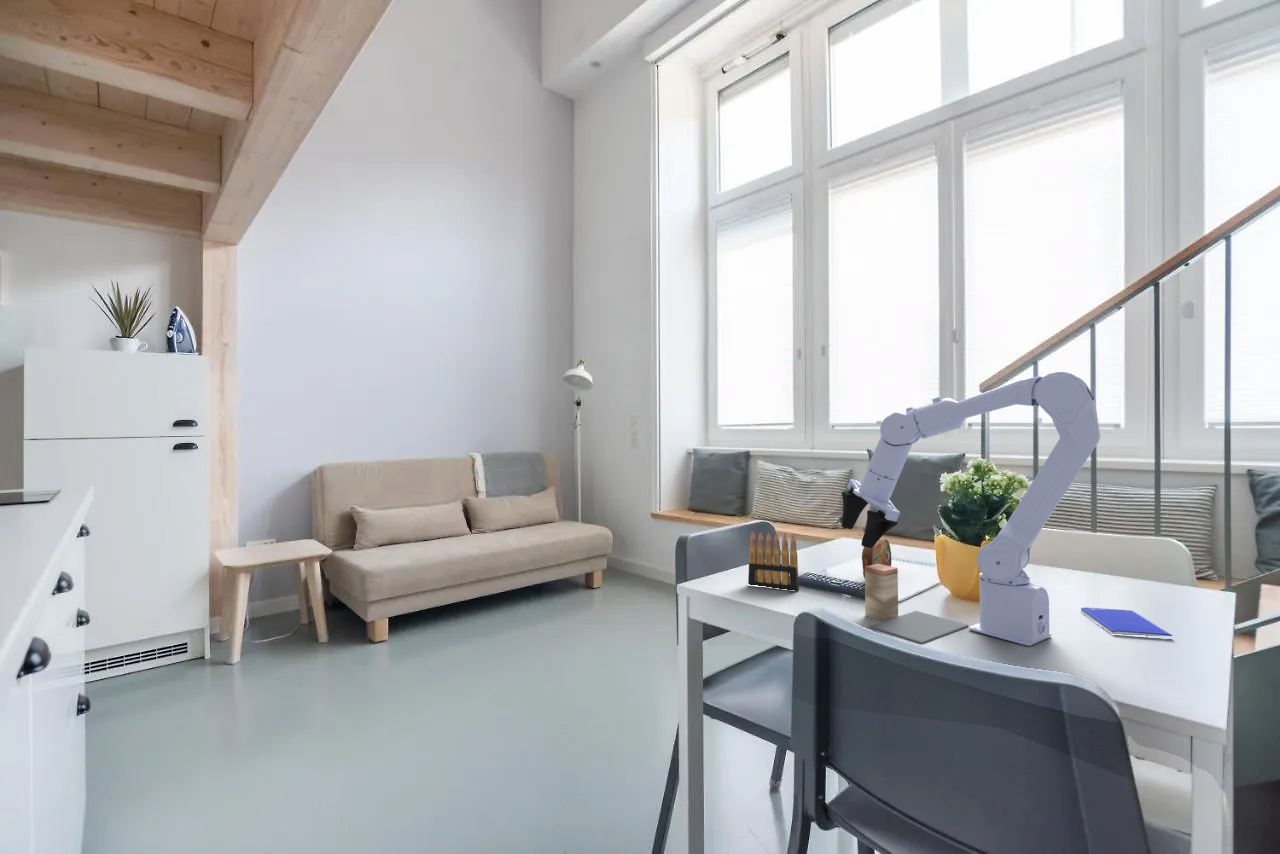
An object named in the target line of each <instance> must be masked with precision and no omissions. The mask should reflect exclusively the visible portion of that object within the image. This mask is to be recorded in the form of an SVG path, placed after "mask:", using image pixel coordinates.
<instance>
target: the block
mask: <svg viewBox="0 0 1280 854" xmlns="http://www.w3.org/2000/svg"><path fill="white" fill-rule="evenodd" d="M898 575H899V571H898V567H895V566H892V565H891V566H886V565H882V564H875V565H871V566H866V567H865V578H864V594H865V595H864V596H865V597H864V601H865V607H864V608H865V614H864V615H865V617H869V618H872V619H876V620H879V621H881V622H882V621H886V620H889V619H892V618H895V617H898V616H899V582H898V579H899V578H898V577H899V576H898Z"/></svg>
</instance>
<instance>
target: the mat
mask: <svg viewBox="0 0 1280 854" xmlns="http://www.w3.org/2000/svg"><path fill="white" fill-rule="evenodd" d="M967 628H969V624H967V623H962V622H958V621H955V620H951V619H949V618H946V617H945V618H944V617H940V616H938V615H937V616H936V615H932V614H929V613H925V612H922V611H918V610H915V611H912V612H908V613H904V614H902V615H898V617H895V618H892V619H889V620H886V621H882V620H881V621H880V622H876V623H873V624H871V625H869V629H872V630H873V629H874V630H876V631H880V632H883V633H886V634H890V635H891V636H892V635H893V636H896V637H899V638H902V639H905V640H908V641H911V642H913V643H918V644H921V645H923V644H925V643H928V642H931V641H933V640H936V639H938V638H941V637H945V636H946V635H949V634H952V633H955V632H958V631H960V630H963V629H967Z"/></svg>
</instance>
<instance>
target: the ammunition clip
mask: <svg viewBox="0 0 1280 854" xmlns="http://www.w3.org/2000/svg"><path fill="white" fill-rule="evenodd" d="M749 539H750V540H749V551H748V555H749V556H748V557H749V558H748V559H749V560H748V579H747V580H748V583H747V585H748V584H750V585H758V586H766V587H772V588H779V589H787V590H795V591H797V592H799V590H800V583H799V578H800V577H799V566H798V551H797V540H796V535H795V534H794V533H793V534H792V535H791V539H790V549H789V546H788V545H789V541H788V537H787V534H786V533H784V534H783V536H782V541H781V546H780V539H779V534H778V533H777V532H775V535H774V538H773V547H772V537H771V534H770V532H767V534H766V537H765V545H764V536H763V533H762V532H761V531H760V532H759V533H758V538H757V542H756V535H755V533H754V531H751V534H750V537H749ZM756 544H757V545H756ZM764 546H765V547H764ZM780 547H781V548H780ZM789 551H790V552H789ZM795 591H794V592H795Z"/></svg>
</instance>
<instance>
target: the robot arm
mask: <svg viewBox="0 0 1280 854" xmlns="http://www.w3.org/2000/svg"><path fill="white" fill-rule="evenodd" d="M931 401H932V402H929V403H927V404H925V405H921V406H918V407H915V408H914V407H911V406H910V407H907V408H905V411H906V412H905V413H902V412H893V413H891V414H890V415H888V416H886V417H885V418H884V419H883V420H882V422H881V424H880V428H879V432H880V437H879V439H878V440H879V441H878V442H877V445H876V446H875V449H874V451H873V454H872V456H871V459H870V461H869V463H868V466H867V467H866V468H867V469H866V470H865V473H864V475H863V478H862V481H859V480H856V479H852V478H850V479H849V482H848V484H847V486H846V488H847V489H848V490H842V492H841V497H842V502H843V507H842V519H841V527H842V528H843V529H846V530H847V529H848V530H852V529H853V528H854V527H855V525H856V523H857V521H858V519H859V517H860V515H861V513H862V512H863V510H864V509H865V508H866V506H868V504H869V505H871V506H872V507H873V508H874V509H876V510H877V511H873V510H867V511H866V526H865V530H864V533H863V536H862V540H861V544H860V545H861V546H862V547H863V548H864V547H867V548H873V546H874V545H875V544H876V543H877V541H878V540H879V539H882V537H883V536H884V535H885V534H886V533H887V532H888V531H889V530H891V529H893V528H894V527H896V526H897V525H898V523H899V520H898V518H899V517H900V515H901V514H900V513H901V511H899V510H898V509H897V508H896V507H895V506H894V504H893V503H892V501H891V500H890V499H891V497H892V495H893V492H894V490H895V487H896V485H897V482H898V480H899V478H900V476H901V474H902V471H903V469H904V466H905V464H906V462H907V459H908V455H909V453H910V452H911V451H910V450H911V448H912V445H913V444H915V443H916V442H918V441H919V440H920V439H922V440H924V439H927V438H931V437H934V436H937V435H942V434H944V433H947V432H951V431H954V430H957V429H960V428H961V426H962V425H963V423H964V421H965V420H966V419H968V418H971V417H976V416H978V415H979V416H980V415H983V414H987V413H990V412H993V411H998V410H1000V409H1004V408H1005V409H1006V408H1008V407H1012V406H1015V405H1017V406H1018V405H1019V406H1020V405H1021V406H1029V407H1040V408H1041V409H1042V411H1044V412H1045V413H1046V414H1047V415H1048V416H1049V417H1050V418H1051V419H1052V422H1053V425H1054V427H1055V430H1056V431H1057V433H1058V436H1059V440H1058V441H1057V442H1056V444H1055V446H1054V447H1053V449H1052V450H1051V452H1050V453H1049V455H1048V456H1047V458H1046V460H1045V461H1044V463H1043V465H1042V466H1041V468H1040V469H1039V471H1038V472H1037V474H1036V476H1035V477H1034V479H1033V481H1032V482H1031V484H1030V485H1029V487H1028V488H1027V490H1026V492H1024V495H1023V496H1022V498H1021V500H1020V501H1019V503H1018V505H1016V507H1015V509H1014V510H1013V513H1012V514H1011V515H1010V517H1009V518H1008V520H1007V522H1005V525H1004V526H1003V527H1002V529H1001V530H1000V531H999V532H998V533H997V536H996V537H995V538H993V539H992V540H991V541H990V542H989V543H988V544H986V545H984V546H982V547H981V548H980V550H979V551H978V553H977V556H976V564H977V567H978V569H979V571H980V573H979V622H977V623H975V624H973V625H970V626H968V629H969V630H970V631H972V632H976V633H980V634H983V635H988V636H990V637H994V638H998V639H1002V640H1004V641H1009V642H1012V643H1016V644H1020V645H1024V646H1027V647H1032V646H1033V645H1036V644H1038V643H1040V642H1041V641H1044V640H1045V639H1046V640H1047V639H1049V638H1050V637H1052V633H1051V632H1050V600H1049V597H1050V596H1049V594H1048V592H1047V589H1045V588H1044V587H1042V586H1039V585H1036V584H1033V583H1031V581H1030V579H1031V578H1030V576H1028V574H1027V573H1026V571H1025V570H1024V569H1025V568H1026V567H1027V566H1028V565H1029V562H1030V559H1031V548H1032V546H1033V544H1034V543H1035V541H1036V539H1037V538H1038V536H1039V534H1040V532H1041V530H1043V528H1044V526H1045V524H1046V523H1047V521H1048V520H1049V519H1050V517H1051V515H1052V514H1053V513H1054V511H1055V509H1056V508H1057V506H1058V505H1059V503H1060V502H1061V500H1062V498H1063V497H1064V496H1065V494H1066V492H1067V491H1068V489H1069V488H1070V486H1071V485H1072V484H1073V482H1074V480H1075V478H1076V477H1077V476H1078V474H1079V473H1080V471H1081V470H1082V468H1083V466H1084V465H1085V463H1086V462H1087V460H1088V459H1089V457H1090V456H1091V454H1092V453H1093V451H1094V450H1095V448H1096V447H1097V445H1098V444H1099V441H1100V439H1101V431H1100V426H1099V418H1098V413H1097V405H1096V398H1095V396H1094V394H1093V393H1092V391H1091V389H1090V388H1089V386H1088V385H1087V383H1086V381H1084V380H1083V379H1081V378H1080V377H1078V376H1076V375H1075V374H1072V373H1070V372H1066V371H1055V372H1050V373H1048V374H1045V375H1044V376H1040V375H1037V376H1033V377H1028V378H1024V379H1020V380H1016V381H1014V382H1010V383H1008V384H1004V385H1002V386H999V387H997V388H994V389H990V390H988V391H986V392H982V393H979V394H976V395H974V396H972V397H971V396H970V397H968V398H965V399H963V400H960V401H956V400H954V399H953V398H950V397H946V398H942V396H938V397H935V398H932V399H931Z"/></svg>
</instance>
